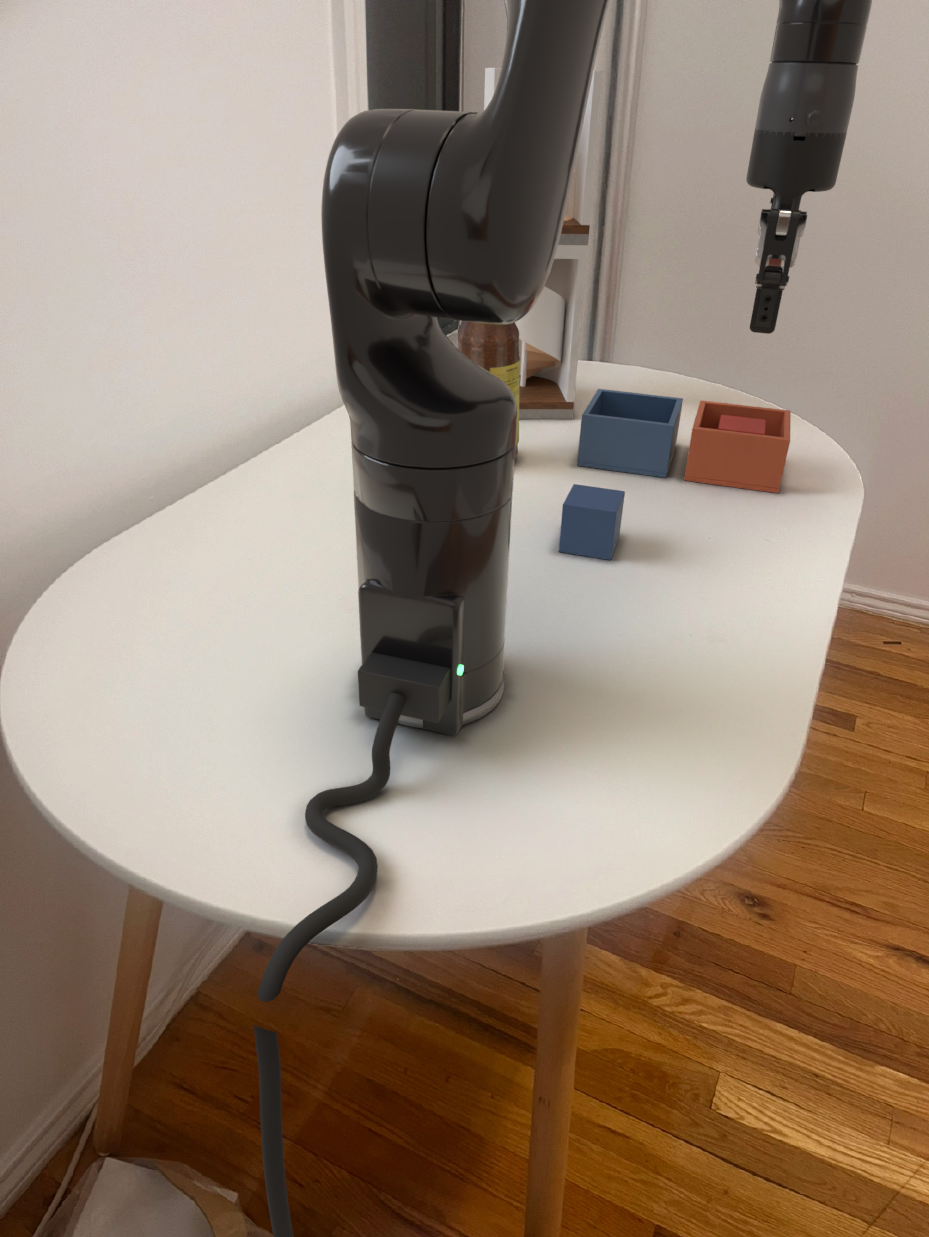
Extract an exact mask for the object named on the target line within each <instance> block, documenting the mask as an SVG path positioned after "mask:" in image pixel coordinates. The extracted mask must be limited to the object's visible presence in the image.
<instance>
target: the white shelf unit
mask: <svg viewBox="0 0 929 1237" xmlns="http://www.w3.org/2000/svg"><path fill="white" fill-rule="evenodd" d="M500 70H501V67H485V68H484V96H483V97H484V98H483V100H484V101H483V111H484V110H485V109H486V108H487V106H488V105H489V103H490V101H491V100H492V97H493V95H494V92H495V89H496V86H497V82H498V78H499V74H500ZM604 73H605V72H604V70H595V69H594V71H593V76H592V81H591V86H590V92H589V97H588V102H587V107H586V112H585V117H584V122H583V127H582V132H581V137H580V143H579V148H578V153H577V158H576V163H575V168H574V173H573V178H572V183H571V189H570V194H569V198H568V203H567V208H566V213H565V217H564V222H563V227H562V231H561V236H560V239H559V243H558V247H557V251H556V255H555V258H554V261H553V264H552V267H551V271H550V274H549V276H548V279H547V281H546V283H545V286H544V288H543V290H542V292H541V294H540V296H539V297H538V299H537V301H536V302H535V304H534V306H533V307H532V309H531V310H530V311H529V312H528V313H527V314H526V315H525V316H524V317H523V318H521V319H520V320H518V321H516V322H515V324H516V326H517V328H518V330H519V343H518V344H519V358H520V386H519V420H573V417H574V416H573V415H574V406H575V396H576V386H577V375H578V373H577V372H578V364H579V352H580V351H579V350H580V339H581V329H582V328H581V327H582V317H583V307H584V306H583V305H584V295H585V285H586V272H587V261H588V251H589V250H588V249H589V240H590V238H589V237H590V226H591V218H592V217H591V216H592V205H593V194H594V184H595V182H594V181H595V173H596V161H597V151H598V150H597V149H598V137H599V127H600V114H601V107H602V106H601V105H602V93H603V82H604Z"/></svg>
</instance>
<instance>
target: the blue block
mask: <svg viewBox="0 0 929 1237" xmlns="http://www.w3.org/2000/svg"><path fill="white" fill-rule="evenodd" d="M625 496H626V491H625V490H620V489H612V488H605V487H598V486H590V485H585V484H576V483H573V485H572V486H571V488H570V490H569V492H568V494H567V496H566V498H565V500H564V502H563V503H562V510H561V522H560V533H559V544H558V552H559V553H563V554H564V553H565V554H570V555H575V556H581V557H582V556H583V557H588V558H594V559H600V560H606V561H611V560H612V558H613V555H614V553H615V550H616V548H617V545H618V542H619V539H620V535H621V526H622V520H623V519H622V518H623V510H624V502H625Z"/></svg>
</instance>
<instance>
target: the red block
mask: <svg viewBox="0 0 929 1237" xmlns="http://www.w3.org/2000/svg"><path fill="white" fill-rule="evenodd" d="M765 425H766V420H764V419H755V418H747V417H738V416H730V415H721V417H720V422H719V427H718V430H726V431H734V432H742V433H751V434H759V435H765Z"/></svg>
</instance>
